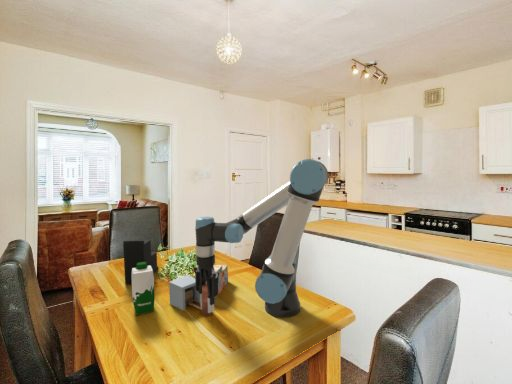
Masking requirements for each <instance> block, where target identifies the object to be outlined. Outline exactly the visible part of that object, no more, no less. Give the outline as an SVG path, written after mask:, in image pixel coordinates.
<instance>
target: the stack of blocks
mask: <svg viewBox="0 0 512 384" xmlns="http://www.w3.org/2000/svg"><path fill="white" fill-rule="evenodd" d="M213 267H214V271H215V272H216V273H217V272H219V277H218V295H217V296H215V297H214V298H215V300H216V299H217V297H218V296H219V295H220V293H222V291H223V290H224V288H225V287H226V285H227V283H228V282H229V269H228V268H229V267H228V264H214V266H213ZM209 278H210V277H209ZM206 284H207V281H206Z"/></svg>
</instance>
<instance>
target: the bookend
mask: <svg viewBox="0 0 512 384" xmlns="http://www.w3.org/2000/svg"><path fill="white" fill-rule="evenodd" d="M122 241H123V242H122V246H123V247H122V249H123V265H124V266H123V267H124V269H123V270H124V284H125V285H130V284H131V285H132V279H131V277H132V268H135V267H137V263H139V262H146V263H147V266H149V265H151V267H152V269H153V274H154V275H155V273H156V272H157V271H158V270H159V266H158V256H157V254H158V252H157V251H152V243H151V241H152V240H151V239H136V240H122Z"/></svg>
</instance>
